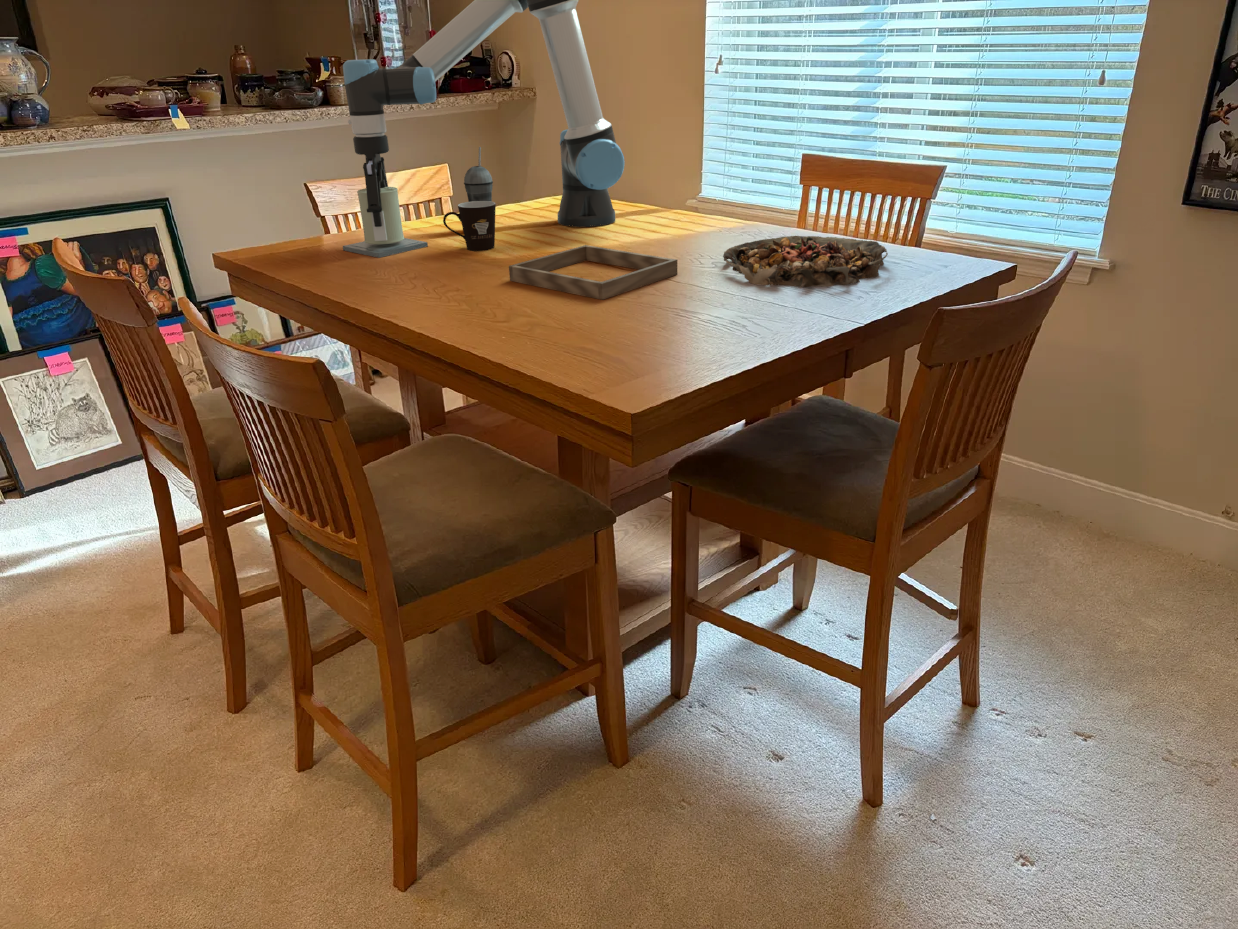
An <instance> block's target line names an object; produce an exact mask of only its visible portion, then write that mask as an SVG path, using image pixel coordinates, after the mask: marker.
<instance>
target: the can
mask: <svg viewBox="0 0 1238 929" xmlns="http://www.w3.org/2000/svg"><path fill="white" fill-rule="evenodd" d="M380 189H381V192H380V196H381V205H382V211H383V213H384V220H385V227H386V234H387V240H386V241H375V238H374V231H373V225H372V218H371V212H367V209H368V201H367V192H366V187H364V188H362V189H358V190H357V191H356V193H357V196H358V197H357V198H358V203H359V209H360V210H359V211H360V216H361V221H362V229H363V238H364V240H363V242H365V243H368V244H390V243H396V242H400V241H402V240H404V238H405V236H404V231H403V230H404V229H403V224H402V217H401V209H400V208H401V207H400V201H399V191H398V187H394V186H388V187H385V188H380Z"/></svg>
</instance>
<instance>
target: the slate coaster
mask: <svg viewBox="0 0 1238 929" xmlns="http://www.w3.org/2000/svg"><path fill="white" fill-rule="evenodd" d="M426 247H427V248H428V242H427V241H422V240H419V239H412V238H406V237H404V240H402V241H400V242H396V243H390V244H368V243H365V242H364V241H359V242H355V243H351V244H346V245H345V244H344V245H342V251H346V252H350V253H354V254H359V255H364V256H370V257H374V258H377V259H378V258H383V257H388V256H392V255H397V254H402V253H404V252H405V253H406V252H410V251H415V250H418V249H424V248H426Z"/></svg>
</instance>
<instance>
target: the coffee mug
mask: <svg viewBox="0 0 1238 929" xmlns="http://www.w3.org/2000/svg"><path fill="white" fill-rule="evenodd" d="M457 208H458V212H459V213H457V212H454V211H450V212H446V214H444V215H443V218H442V219H443V220H442V222H443V225H444V226H445V227H446V229H448V230H449V231H450V232H452V233H453V234H456V235H457V236H459V237H461V238H463V239H464V241H465V245H466V249H467V251H471V252H487V251H490V250H493V249H495V242H496V241H495V240H496V202H495V201H492V202H491V201H472V202H468V201H466V202H461V203H458V204H457ZM450 215H454V216H456V217H457V218H458V220H459V221H460V222H461V226H462V231H463V234H462V233H460V232H458V231H456V230H454V229H453V228H451V227H450V226H448V225H447V222H446V219H447V217H449V216H450Z"/></svg>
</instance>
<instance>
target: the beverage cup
mask: <svg viewBox="0 0 1238 929" xmlns="http://www.w3.org/2000/svg"><path fill="white" fill-rule="evenodd" d="M481 152H482V147H481V146H478V165H474V166H471V167H469V168H468V169H467V171H466V173H464V174H465V175H464V176H463V177H464V182H463V185H464V189H465V192H466V195H467V200H468V201H467V202H472V201H491V202H493V197H492V196H493V195H492V192H493V186H494V184H493V183H494V181H493V177H492V175H491V172H490V171H489V170H488V169H487V168H485V167H483V166H482V164H481V161H482V160H481V159H482V158H481V157H482V156H481V155H482V154H481Z"/></svg>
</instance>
